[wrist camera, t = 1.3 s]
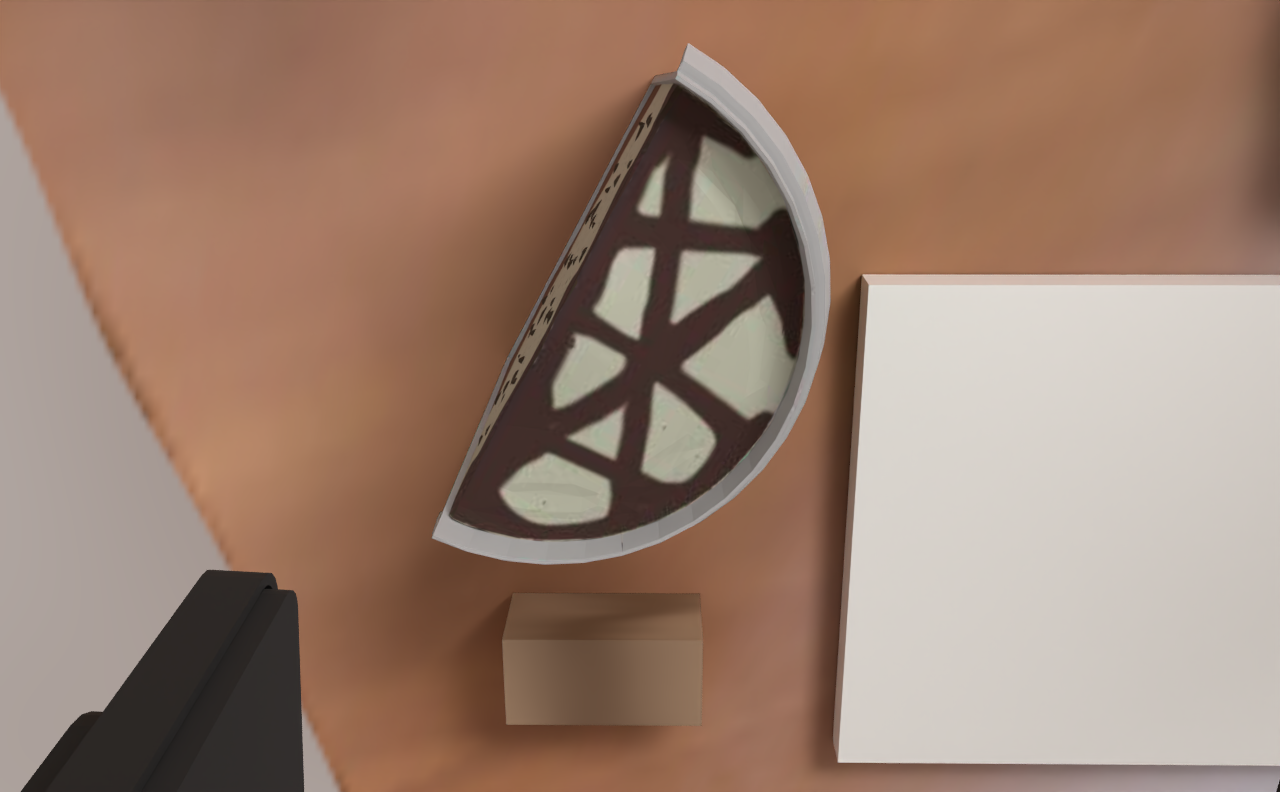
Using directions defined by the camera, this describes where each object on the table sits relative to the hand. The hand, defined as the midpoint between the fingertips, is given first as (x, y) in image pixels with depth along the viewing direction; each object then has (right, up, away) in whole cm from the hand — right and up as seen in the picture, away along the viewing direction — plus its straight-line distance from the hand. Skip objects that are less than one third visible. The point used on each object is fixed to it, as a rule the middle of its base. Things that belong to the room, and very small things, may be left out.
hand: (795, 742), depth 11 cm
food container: (0, +7, +24) cm, 25 cm away
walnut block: (-2, -5, +28) cm, 28 cm away
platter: (+14, -1, +26) cm, 29 cm away
